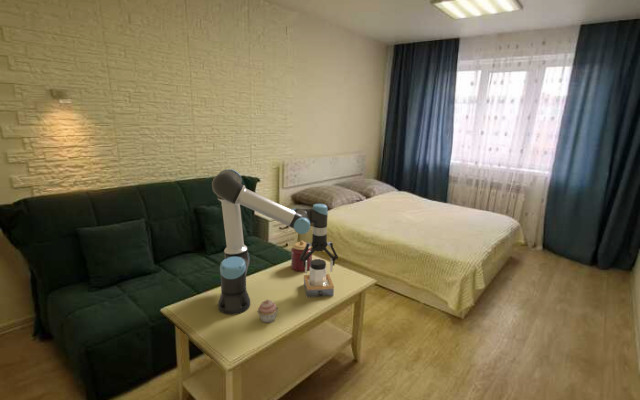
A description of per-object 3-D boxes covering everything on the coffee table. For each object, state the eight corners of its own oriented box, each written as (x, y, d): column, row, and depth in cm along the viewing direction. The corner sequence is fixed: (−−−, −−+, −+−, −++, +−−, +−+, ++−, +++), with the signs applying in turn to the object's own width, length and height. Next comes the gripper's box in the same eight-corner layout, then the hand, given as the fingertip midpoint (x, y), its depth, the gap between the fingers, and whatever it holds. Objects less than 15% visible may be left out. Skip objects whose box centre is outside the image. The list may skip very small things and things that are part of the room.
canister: (303, 261, 214) (303, 235, 210) (316, 268, 205) (316, 241, 201) (286, 266, 206) (287, 239, 202) (299, 274, 197) (299, 246, 192)
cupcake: (253, 319, 151) (252, 299, 149) (269, 311, 158) (269, 292, 155) (266, 328, 145) (266, 307, 143) (282, 319, 152) (282, 299, 149)
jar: (328, 283, 177) (329, 263, 174) (317, 288, 172) (317, 267, 169) (318, 277, 183) (318, 257, 181) (306, 281, 178) (307, 261, 176)
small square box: (307, 298, 170) (307, 288, 169) (303, 284, 184) (304, 275, 183) (333, 296, 172) (334, 286, 171) (328, 283, 186) (328, 274, 185)
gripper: (296, 237, 166) (295, 275, 170) (344, 235, 169) (343, 273, 174) (294, 232, 173) (294, 269, 178) (341, 230, 177) (340, 267, 182)
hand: (318, 271), depth 176 cm, fingers open, 13 cm apart
